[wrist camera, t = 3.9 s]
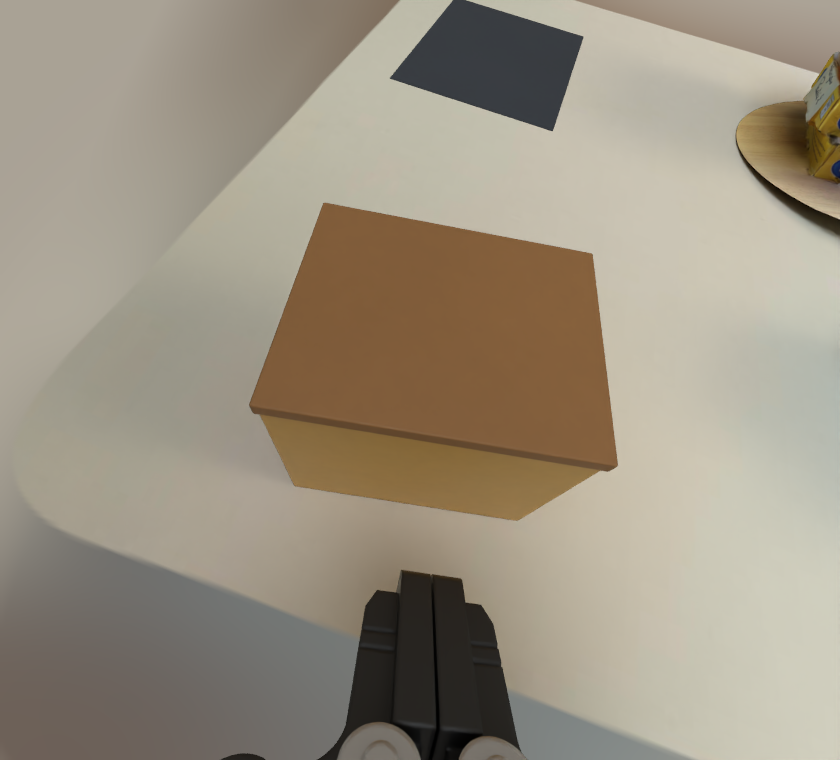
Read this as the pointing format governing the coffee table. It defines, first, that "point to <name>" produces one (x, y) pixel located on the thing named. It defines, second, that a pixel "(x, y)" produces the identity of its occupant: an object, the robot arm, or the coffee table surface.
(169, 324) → the coffee table surface
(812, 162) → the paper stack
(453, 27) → the mat
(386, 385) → the toy box
